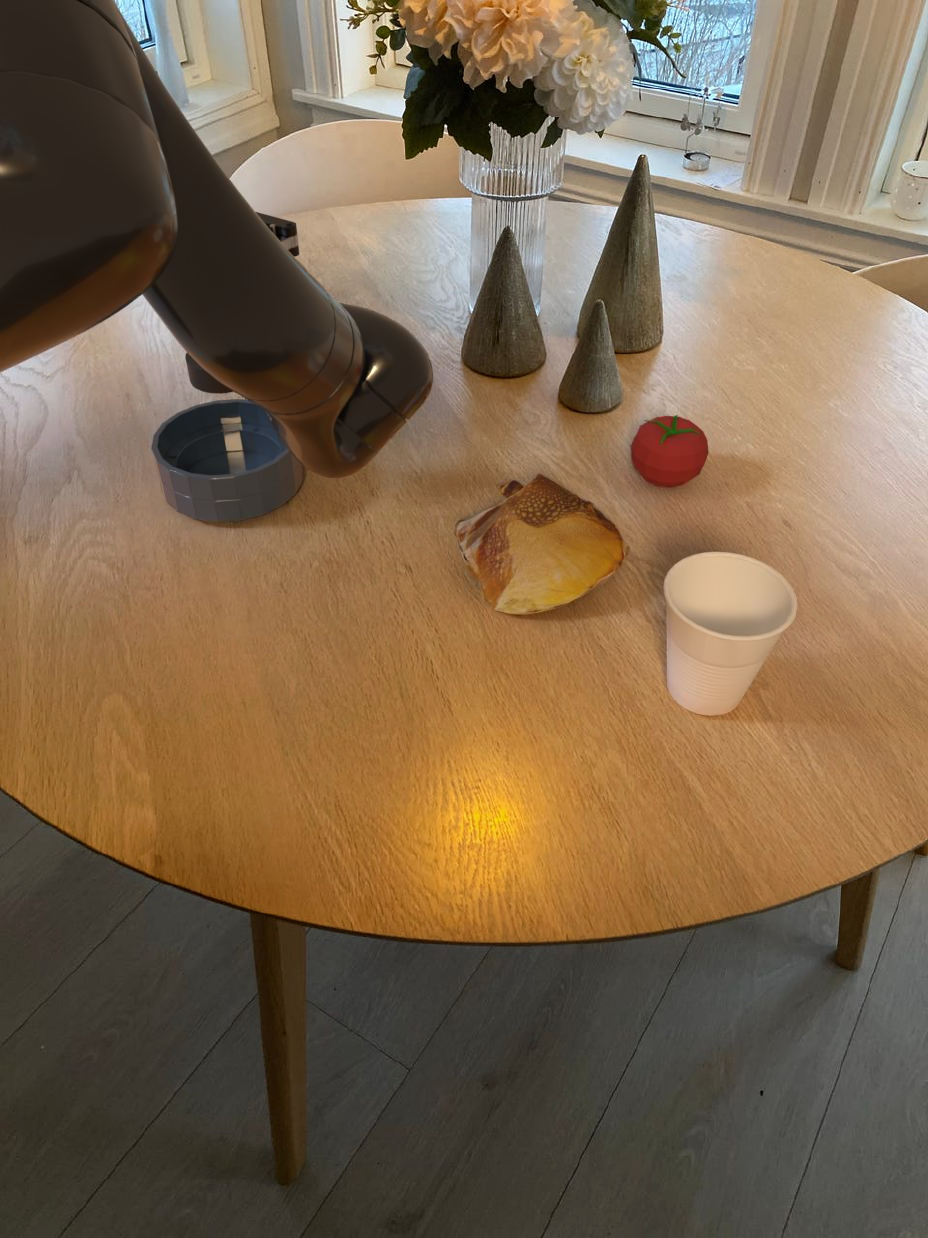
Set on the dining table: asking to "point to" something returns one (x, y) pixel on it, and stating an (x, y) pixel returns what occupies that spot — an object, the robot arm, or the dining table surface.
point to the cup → (721, 627)
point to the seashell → (539, 548)
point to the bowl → (224, 462)
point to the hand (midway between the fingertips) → (184, 214)
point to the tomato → (669, 451)
